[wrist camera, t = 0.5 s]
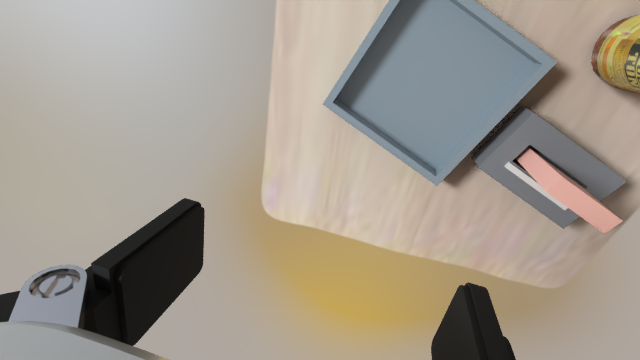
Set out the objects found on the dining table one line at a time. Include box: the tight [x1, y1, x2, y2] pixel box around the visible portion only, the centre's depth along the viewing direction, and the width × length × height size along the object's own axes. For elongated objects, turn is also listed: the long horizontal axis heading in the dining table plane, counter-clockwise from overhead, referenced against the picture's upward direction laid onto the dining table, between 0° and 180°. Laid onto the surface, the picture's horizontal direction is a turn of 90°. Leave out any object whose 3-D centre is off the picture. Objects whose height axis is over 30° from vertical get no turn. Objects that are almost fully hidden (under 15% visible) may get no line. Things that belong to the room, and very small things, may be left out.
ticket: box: [515, 146, 622, 234], centre depth 30 cm, size 2×6×10 cm, turn 57°
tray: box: [323, 0, 557, 186], centre depth 33 cm, size 16×16×3 cm
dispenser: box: [472, 105, 627, 229], centre depth 33 cm, size 7×11×4 cm, turn 57°
